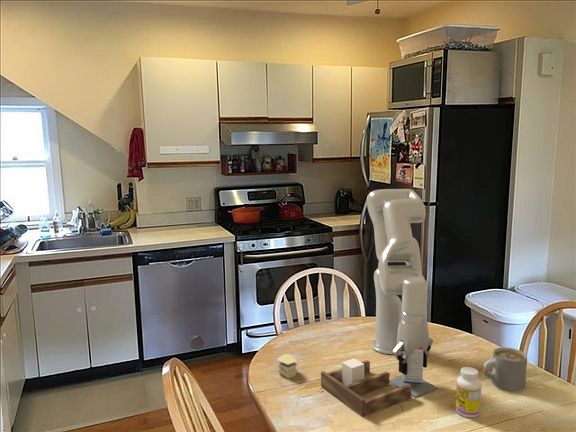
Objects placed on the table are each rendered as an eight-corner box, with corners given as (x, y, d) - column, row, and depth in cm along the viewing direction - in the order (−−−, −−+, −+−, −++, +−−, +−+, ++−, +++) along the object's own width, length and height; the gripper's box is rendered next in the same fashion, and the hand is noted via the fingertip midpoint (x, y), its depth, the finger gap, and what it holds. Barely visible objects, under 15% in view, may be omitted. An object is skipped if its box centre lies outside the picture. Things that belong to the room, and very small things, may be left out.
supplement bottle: (451, 406, 142) (453, 365, 140) (473, 405, 142) (475, 364, 140) (461, 419, 135) (463, 376, 133) (484, 417, 136) (486, 375, 134)
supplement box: (423, 384, 151) (423, 349, 149) (403, 383, 152) (403, 348, 150) (421, 376, 156) (422, 342, 155) (403, 374, 158) (403, 341, 156)
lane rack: (367, 371, 164) (367, 357, 164) (411, 397, 147) (411, 382, 146) (321, 386, 155) (320, 372, 154) (362, 417, 137) (362, 400, 136)
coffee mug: (518, 376, 159) (520, 347, 157) (530, 391, 149) (532, 361, 148) (476, 375, 160) (477, 346, 159) (485, 390, 150) (487, 360, 149)
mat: (410, 373, 162) (410, 372, 162) (437, 388, 152) (437, 387, 152) (387, 381, 157) (387, 380, 157) (414, 397, 147) (415, 396, 147)
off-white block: (354, 381, 158) (354, 358, 157) (364, 387, 154) (364, 364, 152) (342, 385, 155) (342, 362, 154) (351, 392, 151) (351, 368, 150)
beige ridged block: (306, 375, 163) (306, 360, 162) (285, 384, 157) (285, 368, 157) (288, 365, 171) (288, 350, 170) (268, 372, 165) (267, 357, 164)
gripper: (424, 308, 159) (423, 358, 161) (384, 319, 150) (384, 371, 153) (442, 315, 152) (441, 367, 155) (402, 326, 143) (401, 381, 146)
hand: (412, 369), depth 154 cm, fingers closed on supplement box, 8 cm apart
